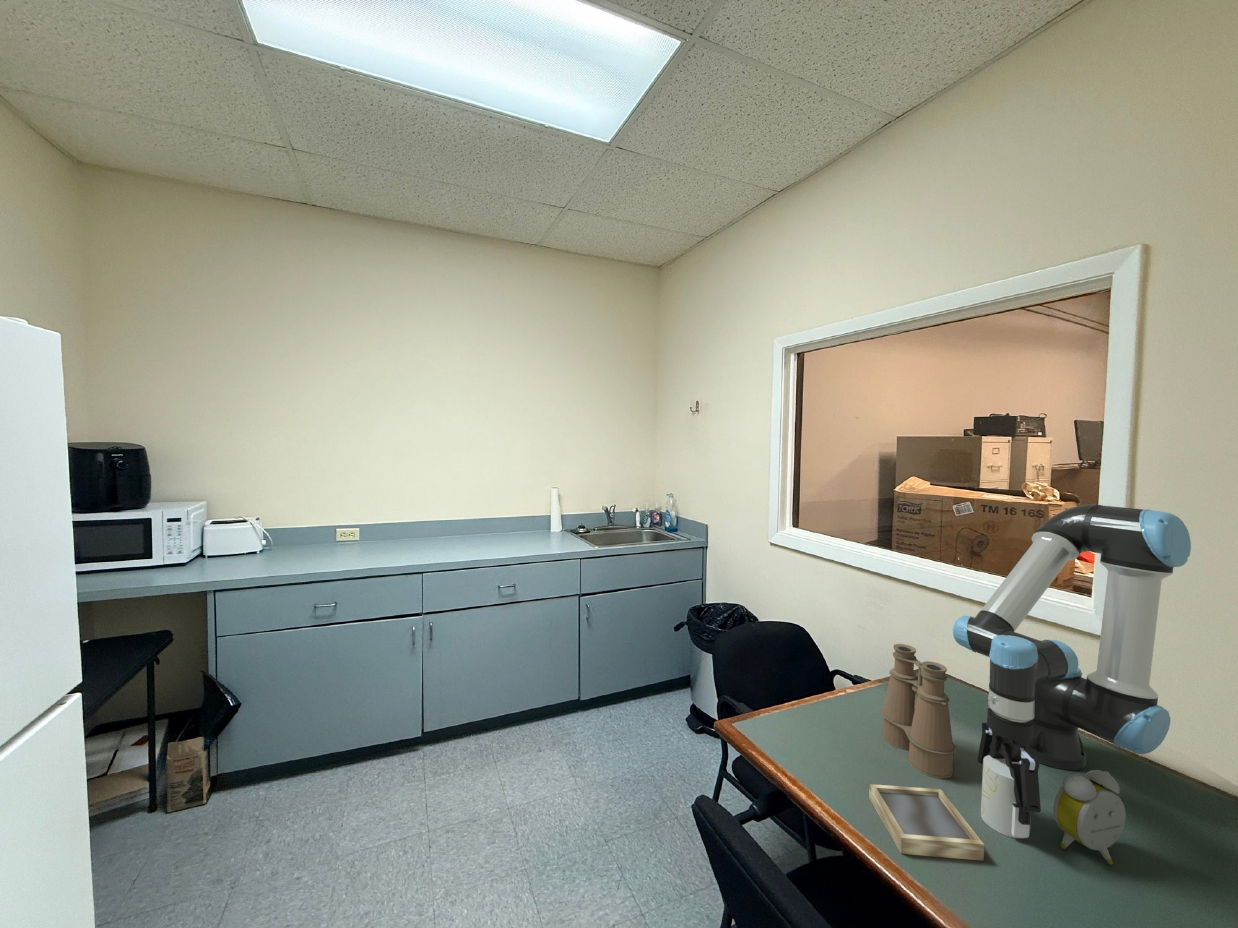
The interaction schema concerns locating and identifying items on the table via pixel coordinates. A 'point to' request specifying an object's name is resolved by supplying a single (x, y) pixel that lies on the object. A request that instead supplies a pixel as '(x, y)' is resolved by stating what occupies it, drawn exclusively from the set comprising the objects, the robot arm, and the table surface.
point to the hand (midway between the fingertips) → (1004, 818)
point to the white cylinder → (998, 795)
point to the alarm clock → (1090, 811)
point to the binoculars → (919, 713)
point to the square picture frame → (925, 822)
